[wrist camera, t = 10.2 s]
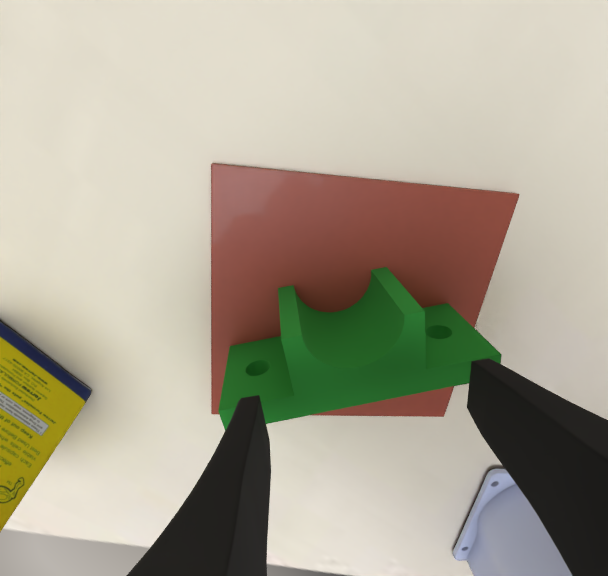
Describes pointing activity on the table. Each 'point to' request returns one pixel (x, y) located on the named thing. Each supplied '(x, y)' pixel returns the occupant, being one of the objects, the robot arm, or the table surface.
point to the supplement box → (31, 414)
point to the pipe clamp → (352, 354)
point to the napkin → (344, 255)
